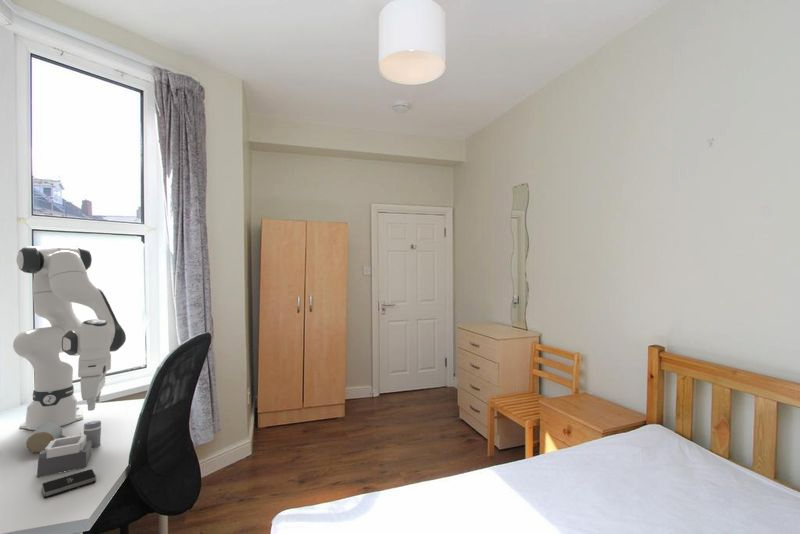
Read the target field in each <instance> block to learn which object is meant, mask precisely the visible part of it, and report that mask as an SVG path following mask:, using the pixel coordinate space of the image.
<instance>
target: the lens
mask: <svg viewBox="0 0 800 534" xmlns="http://www.w3.org/2000/svg"><path fill="white" fill-rule="evenodd" d="M101 429H102V420H93V421H88V422H86V423H84V425H83V434H85V435H86V441H91V440H92V443H91V450H92V449H95V448H98V447H100V445H101V434H102V433H101V432H102V431H101Z"/></svg>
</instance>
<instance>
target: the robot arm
mask: <svg viewBox="0 0 800 534" xmlns="http://www.w3.org/2000/svg"><path fill="white" fill-rule="evenodd" d="M92 259H93V258H92V254H91V252H90V251H89V249H87V248H86V247H81V246H69V245H68V246H67V245H44V246H35V245H34V246H33V245H30V246H25V247H22V248H21V249H20V250H19V251H18V253H17V255H16V264H17V266H18V269H19V270H20V271H22V272H23V273H26V274H34V275H33V279H32V280H33V281H32V298H33V310H34V313H35V314H36V316H38V317H40V318H43V319H45V320H47V321H48V322H49V323H50V326H46V327H38V328H37V327H36V328H32V329H28V330H26V331H22V332H20V333H18V334H17V335H16V336H15V338H14V339H13V345H12V348H13V351H14V352H15V354H17V355H18V356H19V357H21V358H24V359H25V360H26V361H28V362H29V363H30V365H31V366H32V369H33V371H34V390H32V402H31V403H29V404H28V405H27V407H26V414H25V422H23V423H21V424H19V429H27V430H31V431H35V430H36V428H37V427H39V426H40V425H42V424H45V423H55V424H58V425H59V426H60V427H62V426H65V425H69V424H71V423H74V422H76V421H80V420H83V419H84V414H83V409H82V407H79V406H77V404H78V400H77V398H76V396H75V395H74V392H75V388H74V384H73V374H74V369H73V366H72V365H71V364H70V363H68V362H64V361H61V359H60V354H61V353H64V354H66V355H69V356H79V357H78V369H77V370H78V371H77V372H78V373H77V376H78V378H79V379H80V395H81V399H82V401H86V405H87V411H89V412H90V411H94V410H96V403H99V402H100V401H101V393H102V389H103V388H104V387H105V385H106V375H107V372H109V371H111V368H112V353H113V352H116V351H118V350H120V348H122V346H124V345H125V342H126V339H127V338H126V337H127V336H126V332H125V330H124V329H123V327H122V326H121V324H119V321H118V319H117V317H116V315H115V313H114V311H113V309H112V307H111V305H110V303H109V301H108V299H107V297H106V295H105V294H104V292H103V291H102V290H101V289H100V288H97V287H96V286H95V284H93V283H92V282H91V280H90V279H89V276H88V272H87V270H88V269H89V268H90V267H91V265H92ZM72 303H73V304H79V305H83V306H86V307H88V308H90V309H91V310H92V311H93V312H94V314H95V315H96V319H88V320H85V321H83V322H82V321H81V320H80V319H79V317H77V315H76V314H75V312H74V308H73V305H72Z"/></svg>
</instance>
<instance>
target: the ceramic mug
mask: <svg viewBox="0 0 800 534" xmlns="http://www.w3.org/2000/svg"><path fill="white" fill-rule="evenodd" d="M64 437H67V435H63V428H62V426H59V425H58V424H55V423H45V424H42V425H40V426H39V427H37V428H36V430H33V432H32V433H31V434H30V435H29V437H28V438H27V440H26V449H27V450H28V451H29V452H31V453H34V454H35V453H36V454H38V453H39V454H40V452H41V451H43V450H45V448H46V447H47V446H48V444H49V443H50V442H51V441H54V439H58V438H64Z"/></svg>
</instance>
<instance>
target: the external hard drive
mask: <svg viewBox="0 0 800 534" xmlns="http://www.w3.org/2000/svg"><path fill="white" fill-rule="evenodd" d="M96 482H97V475H96V474H95V471H94V470H93V468H90V469H86V470H84V471H79V472H77V473H73V474H69V475H65V476H63V477H58V478H55V479H52V480H49V481H45V482H42V483H41V492H42V495H43V498H44V499H50V498H52V497H55V496H58V495H62V494H65V493H68V492H72V491H74V490H77V489H80V488H84V487H86V486H90V485H94V484H95V483H96Z"/></svg>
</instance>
